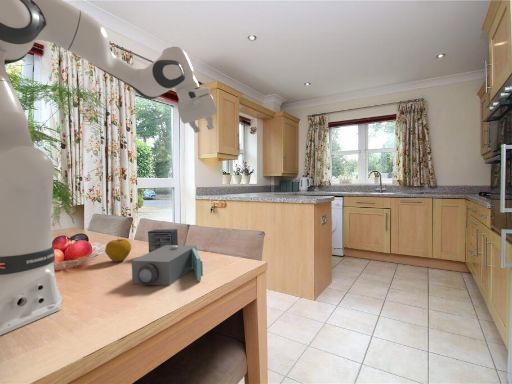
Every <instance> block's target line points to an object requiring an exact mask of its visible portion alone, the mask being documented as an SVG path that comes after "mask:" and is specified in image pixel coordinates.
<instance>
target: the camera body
mask: <svg viewBox="0 0 512 384" xmlns="http://www.w3.org/2000/svg"><path fill="white" fill-rule="evenodd" d="M192 248H195V249H196V251H197V250H198V248H197V245H182V244H178V245H165V246H163V247H161V248H158V249H156V250H154V251H152V252H150V253H149V252H148V253H144V254H142V255H141V256H139V257H136V258H135V259H132V260H131V276H132V277H131V278H132V280H131V281H132V284H133V285H145V286H150V285H152V286H168V287H169V286H171V285H173V284H174V283H175V282H176V281H178V280H179V279H180V278H182V277H183V276H184V275H186V274H187V273H188V272H190V271H191V270H192V269H193V261H192ZM197 252H198V251H197Z"/></svg>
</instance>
